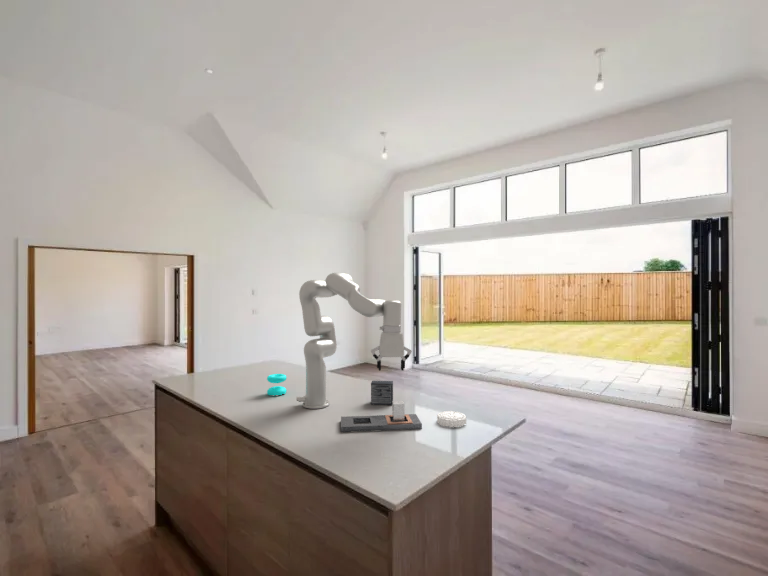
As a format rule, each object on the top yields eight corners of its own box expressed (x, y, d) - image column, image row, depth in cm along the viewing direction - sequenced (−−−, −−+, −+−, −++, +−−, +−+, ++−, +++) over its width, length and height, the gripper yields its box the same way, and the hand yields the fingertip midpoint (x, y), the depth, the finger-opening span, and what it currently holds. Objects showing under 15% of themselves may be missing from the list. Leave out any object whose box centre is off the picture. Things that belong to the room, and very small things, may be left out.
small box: (393, 401, 188) (393, 380, 188) (392, 405, 181) (392, 383, 181) (372, 400, 189) (372, 379, 189) (370, 404, 182) (370, 383, 182)
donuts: (290, 373, 204) (279, 378, 195) (290, 392, 204) (279, 397, 195) (274, 372, 207) (263, 376, 198) (274, 391, 207) (263, 395, 197)
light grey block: (393, 426, 153) (393, 404, 153) (392, 422, 157) (392, 401, 158) (404, 426, 154) (404, 404, 154) (402, 422, 158) (402, 400, 158)
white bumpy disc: (447, 429, 150) (447, 420, 150) (431, 420, 161) (431, 411, 161) (472, 425, 155) (472, 416, 155) (455, 416, 166) (455, 408, 166)
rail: (340, 432, 147) (340, 426, 147) (341, 421, 159) (341, 416, 159) (421, 428, 150) (421, 423, 150) (415, 418, 162) (415, 413, 162)
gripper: (372, 330, 155) (371, 371, 156) (413, 330, 157) (412, 371, 157) (370, 328, 163) (369, 367, 163) (410, 328, 165) (409, 368, 165)
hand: (390, 369), depth 160 cm, fingers open, 9 cm apart
